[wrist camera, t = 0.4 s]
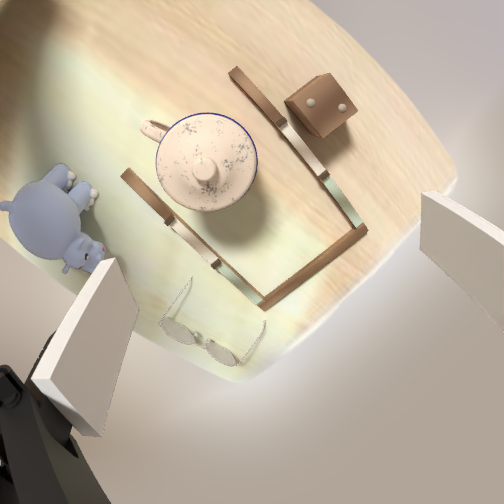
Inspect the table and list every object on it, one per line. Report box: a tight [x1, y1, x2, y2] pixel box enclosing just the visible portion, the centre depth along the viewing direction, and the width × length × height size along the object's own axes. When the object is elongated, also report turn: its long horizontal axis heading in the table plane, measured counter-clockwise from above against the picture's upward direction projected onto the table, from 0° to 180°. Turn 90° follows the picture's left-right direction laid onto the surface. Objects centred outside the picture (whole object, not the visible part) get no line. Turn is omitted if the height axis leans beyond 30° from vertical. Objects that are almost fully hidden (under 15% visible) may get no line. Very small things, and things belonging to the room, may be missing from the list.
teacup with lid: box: [140, 113, 258, 212], centre depth 28 cm, size 12×9×12 cm
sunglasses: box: [158, 277, 265, 366], centre depth 43 cm, size 14×8×5 cm, turn 51°
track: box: [120, 66, 369, 311], centre depth 36 cm, size 26×18×2 cm
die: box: [284, 73, 358, 138], centre depth 30 cm, size 5×5×5 cm
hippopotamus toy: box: [0, 164, 106, 274], centre depth 31 cm, size 11×15×10 cm
